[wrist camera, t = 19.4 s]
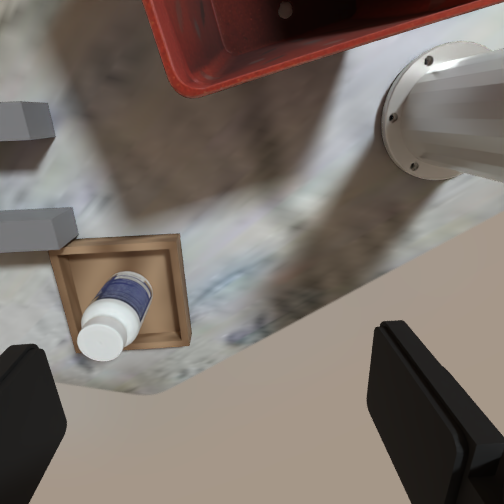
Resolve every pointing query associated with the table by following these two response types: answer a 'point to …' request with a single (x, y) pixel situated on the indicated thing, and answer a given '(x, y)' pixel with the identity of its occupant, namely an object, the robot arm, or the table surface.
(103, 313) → the pill bottle
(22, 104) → the dock
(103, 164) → the table surface
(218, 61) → the plant pot
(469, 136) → the robot arm
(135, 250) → the tray
